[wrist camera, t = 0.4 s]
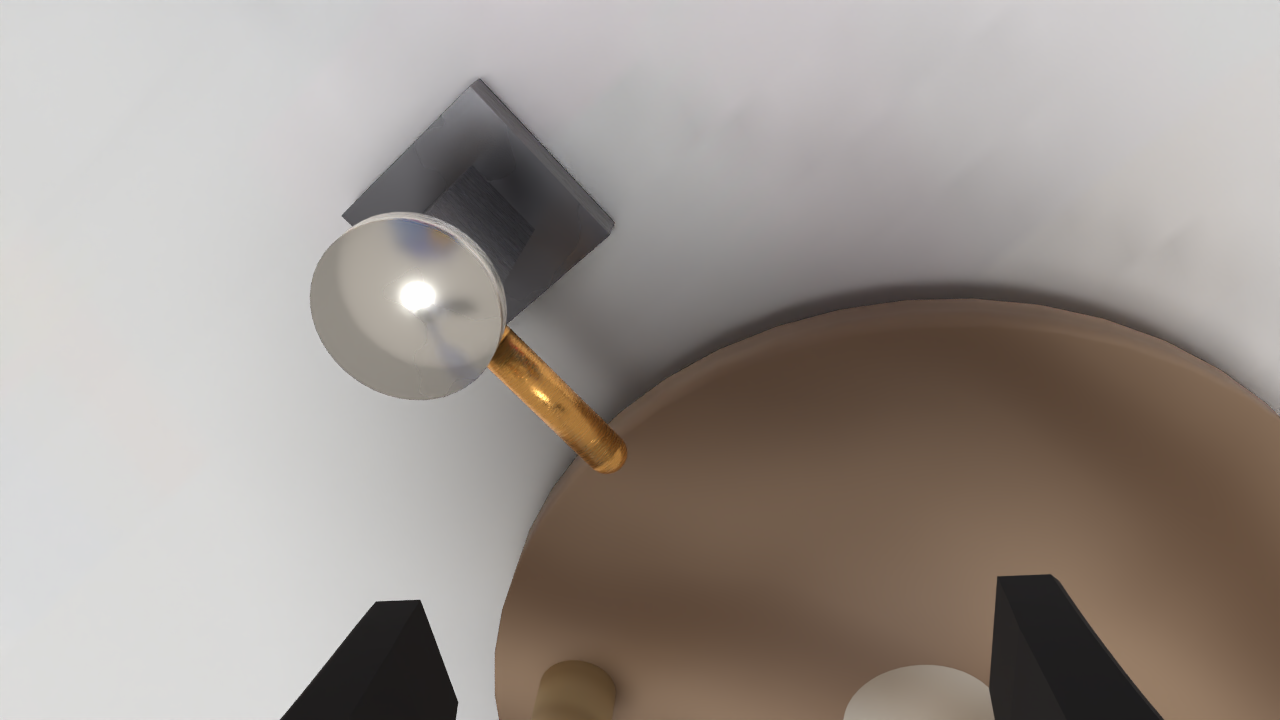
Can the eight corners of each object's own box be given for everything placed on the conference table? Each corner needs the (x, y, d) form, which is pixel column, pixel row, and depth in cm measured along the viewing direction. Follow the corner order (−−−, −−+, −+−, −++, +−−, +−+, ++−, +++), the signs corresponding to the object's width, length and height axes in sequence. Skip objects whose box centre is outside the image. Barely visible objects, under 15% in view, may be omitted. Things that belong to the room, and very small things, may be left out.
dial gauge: (355, 204, 22) (238, 301, 17) (479, 78, 20) (392, 144, 15) (578, 422, 23) (533, 568, 18) (707, 321, 22) (695, 450, 17)
